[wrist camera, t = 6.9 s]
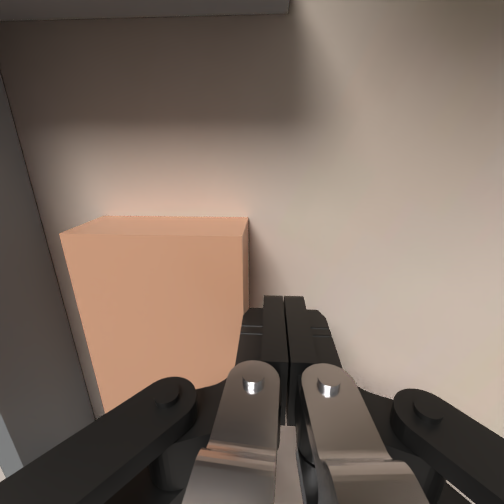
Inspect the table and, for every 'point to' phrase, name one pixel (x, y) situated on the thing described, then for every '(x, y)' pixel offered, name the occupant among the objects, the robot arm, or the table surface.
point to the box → (40, 264)
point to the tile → (159, 298)
